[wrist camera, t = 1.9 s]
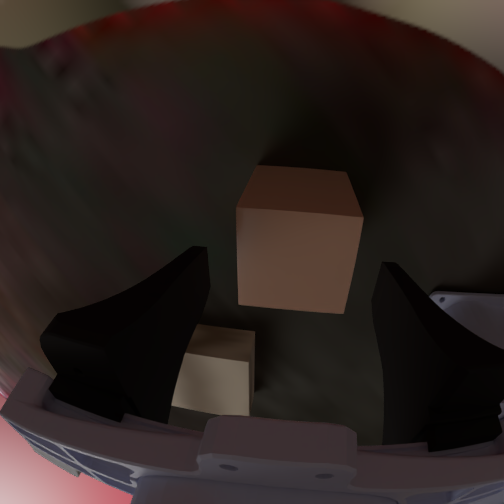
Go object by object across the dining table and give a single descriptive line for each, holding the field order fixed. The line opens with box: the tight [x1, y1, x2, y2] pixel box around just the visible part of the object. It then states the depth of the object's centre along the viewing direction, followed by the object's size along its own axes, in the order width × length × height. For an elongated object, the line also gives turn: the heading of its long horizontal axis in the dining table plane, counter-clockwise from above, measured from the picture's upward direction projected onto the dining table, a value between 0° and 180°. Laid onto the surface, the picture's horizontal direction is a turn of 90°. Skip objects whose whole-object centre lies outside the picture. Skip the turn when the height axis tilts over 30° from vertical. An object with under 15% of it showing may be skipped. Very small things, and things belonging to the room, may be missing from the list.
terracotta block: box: [236, 165, 364, 314], centre depth 16 cm, size 5×5×6 cm
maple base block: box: [171, 324, 255, 416], centre depth 26 cm, size 9×9×4 cm
